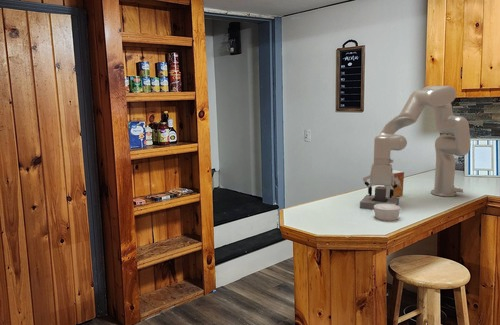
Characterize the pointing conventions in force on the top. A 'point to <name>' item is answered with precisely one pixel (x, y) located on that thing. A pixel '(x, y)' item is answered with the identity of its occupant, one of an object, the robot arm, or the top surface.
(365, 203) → the socket block
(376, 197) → the plug
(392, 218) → the ramekin
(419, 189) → the top surface
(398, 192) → the small box
